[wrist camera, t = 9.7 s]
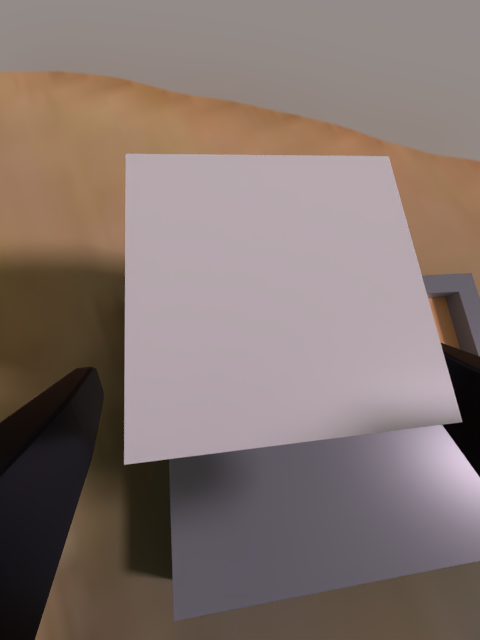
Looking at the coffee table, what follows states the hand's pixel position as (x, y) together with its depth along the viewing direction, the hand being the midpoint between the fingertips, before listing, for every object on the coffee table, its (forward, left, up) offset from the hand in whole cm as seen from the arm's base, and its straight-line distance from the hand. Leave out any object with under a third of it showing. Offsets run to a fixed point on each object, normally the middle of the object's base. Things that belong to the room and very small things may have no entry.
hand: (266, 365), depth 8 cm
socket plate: (0, -6, -9) cm, 10 cm away
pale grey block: (+1, +1, -9) cm, 9 cm away
